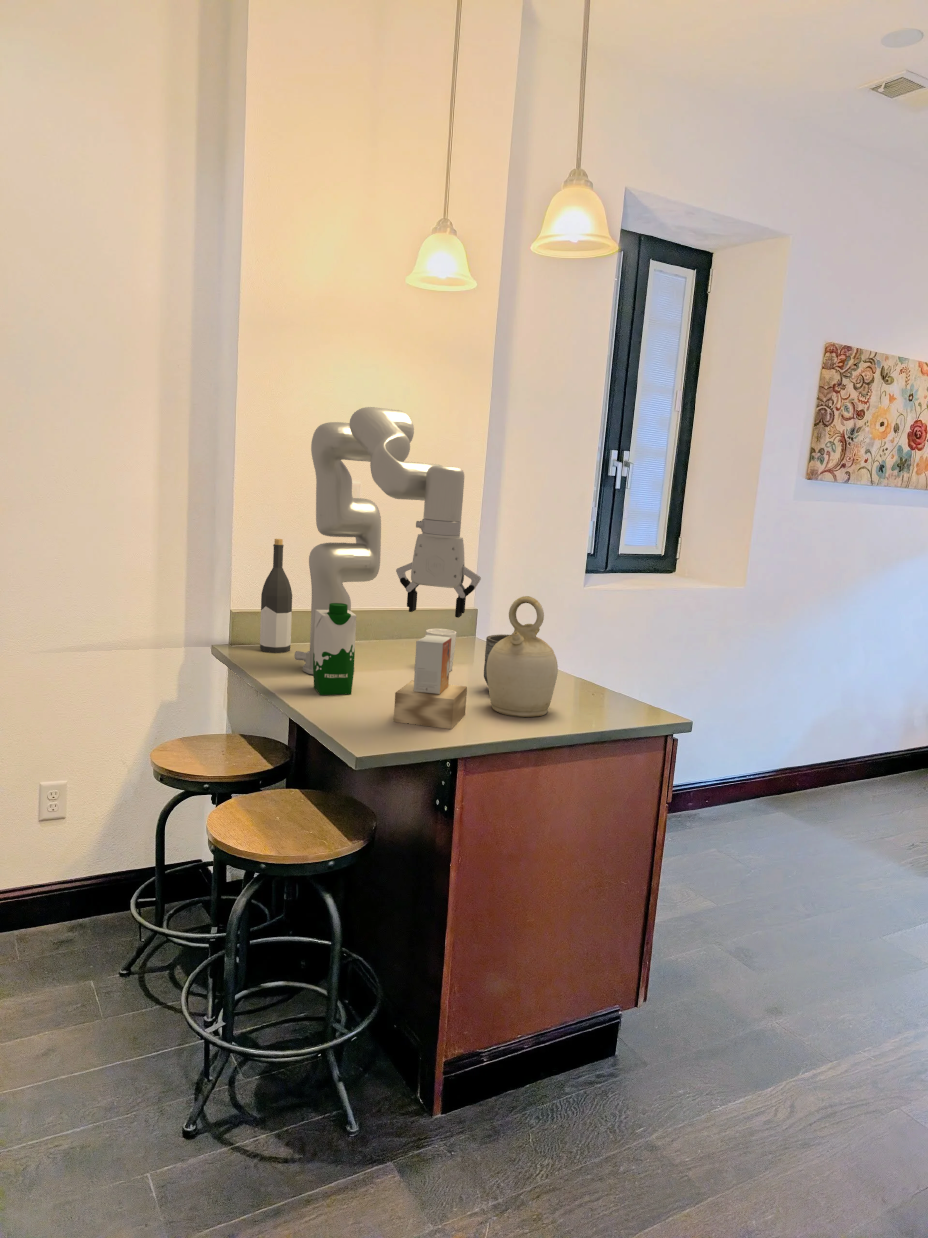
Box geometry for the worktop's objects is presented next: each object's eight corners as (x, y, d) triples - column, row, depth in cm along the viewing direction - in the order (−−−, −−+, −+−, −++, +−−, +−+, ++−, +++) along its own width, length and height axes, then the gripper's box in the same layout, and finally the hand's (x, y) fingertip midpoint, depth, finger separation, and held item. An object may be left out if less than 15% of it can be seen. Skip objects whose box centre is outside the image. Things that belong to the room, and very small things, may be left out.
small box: (439, 695, 176) (443, 643, 174) (412, 692, 177) (415, 640, 175) (449, 686, 183) (452, 636, 182) (423, 683, 185) (426, 634, 183)
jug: (511, 697, 203) (519, 589, 199) (567, 711, 193) (577, 599, 189) (469, 708, 191) (476, 593, 187) (527, 724, 181) (536, 603, 177)
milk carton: (317, 696, 192) (320, 605, 189) (308, 686, 200) (312, 599, 197) (356, 695, 195) (360, 606, 192) (346, 685, 204) (350, 600, 201)
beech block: (393, 721, 176) (395, 692, 175) (410, 707, 188) (412, 680, 187) (451, 729, 174) (453, 699, 173) (465, 714, 185) (467, 686, 184)
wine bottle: (296, 650, 239) (300, 540, 235) (275, 654, 232) (279, 540, 228) (274, 645, 243) (278, 537, 239) (253, 649, 237) (256, 537, 232)
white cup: (418, 670, 225) (420, 631, 224) (431, 664, 232) (433, 627, 231) (447, 674, 222) (449, 635, 221) (458, 668, 230) (461, 631, 228)
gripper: (394, 526, 173) (388, 611, 176) (480, 534, 170) (473, 621, 173) (405, 524, 180) (399, 606, 183) (487, 532, 177) (480, 615, 180)
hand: (435, 613), depth 178 cm, fingers open, 9 cm apart
